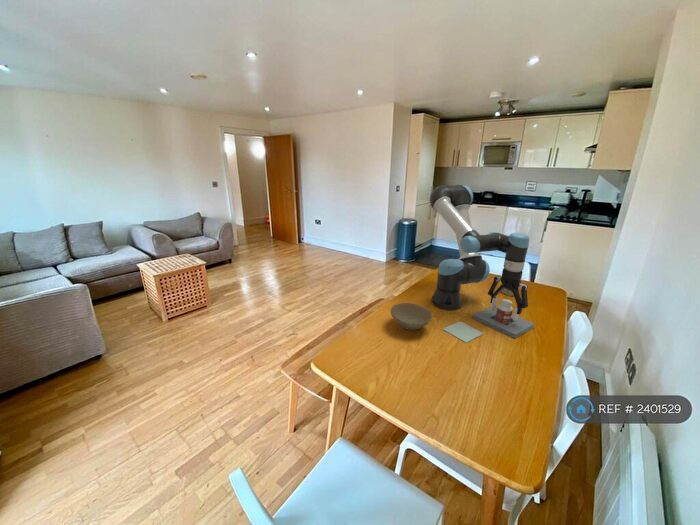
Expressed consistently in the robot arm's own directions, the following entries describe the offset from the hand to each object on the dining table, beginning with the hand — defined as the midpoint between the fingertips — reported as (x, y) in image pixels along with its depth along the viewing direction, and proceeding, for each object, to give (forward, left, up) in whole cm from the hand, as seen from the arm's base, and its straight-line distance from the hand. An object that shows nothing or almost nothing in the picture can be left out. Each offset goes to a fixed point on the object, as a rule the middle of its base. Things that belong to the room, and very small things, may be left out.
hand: (503, 314), depth 128 cm
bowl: (-20, -39, -4) cm, 44 cm away
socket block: (0, 0, -4) cm, 4 cm away
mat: (-5, -22, -4) cm, 23 cm away
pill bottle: (0, 0, -4) cm, 4 cm away
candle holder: (-16, +35, -4) cm, 39 cm away
